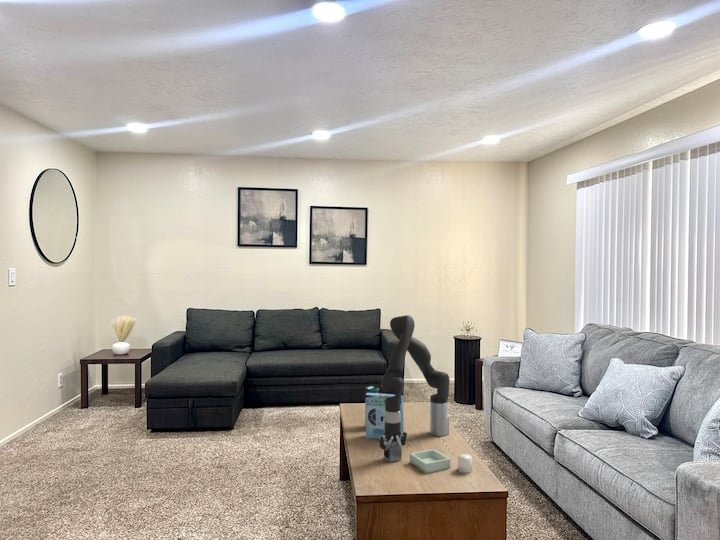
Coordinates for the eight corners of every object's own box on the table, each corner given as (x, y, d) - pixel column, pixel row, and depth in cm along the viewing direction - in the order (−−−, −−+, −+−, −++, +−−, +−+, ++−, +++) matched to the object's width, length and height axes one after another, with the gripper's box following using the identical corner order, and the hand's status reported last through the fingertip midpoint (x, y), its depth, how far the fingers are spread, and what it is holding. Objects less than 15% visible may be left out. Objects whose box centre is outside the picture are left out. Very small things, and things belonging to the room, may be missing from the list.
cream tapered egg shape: (466, 466, 214) (466, 453, 214) (474, 471, 208) (474, 457, 208) (455, 468, 211) (455, 455, 211) (463, 474, 206) (463, 460, 206)
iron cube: (395, 455, 226) (395, 442, 226) (401, 459, 220) (401, 446, 220) (383, 457, 223) (383, 444, 223) (390, 462, 218) (390, 449, 217)
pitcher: (385, 428, 265) (385, 388, 265) (372, 431, 260) (372, 390, 260) (374, 423, 273) (374, 385, 273) (362, 426, 268) (362, 387, 268)
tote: (433, 457, 224) (433, 449, 224) (450, 467, 212) (450, 458, 212) (409, 462, 218) (409, 453, 218) (425, 473, 206) (425, 463, 206)
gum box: (403, 438, 249) (403, 394, 249) (401, 442, 244) (401, 397, 244) (367, 434, 254) (368, 391, 255) (365, 437, 250) (365, 394, 250)
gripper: (401, 415, 228) (401, 450, 228) (375, 419, 222) (375, 455, 222) (410, 420, 221) (410, 456, 221) (382, 424, 215) (382, 461, 215)
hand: (392, 456), depth 222 cm, fingers closed on iron cube, 6 cm apart
